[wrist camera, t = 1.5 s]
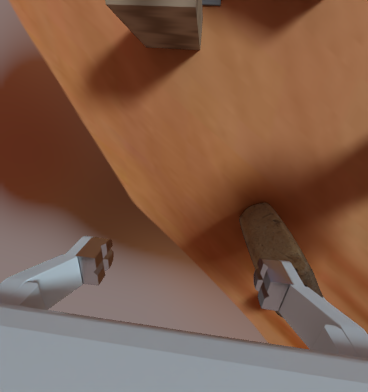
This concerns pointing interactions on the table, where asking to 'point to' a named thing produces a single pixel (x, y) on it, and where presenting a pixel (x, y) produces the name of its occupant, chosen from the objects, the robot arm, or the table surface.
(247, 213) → the block
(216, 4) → the mat
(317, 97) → the table surface
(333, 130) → the table surface
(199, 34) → the slab
